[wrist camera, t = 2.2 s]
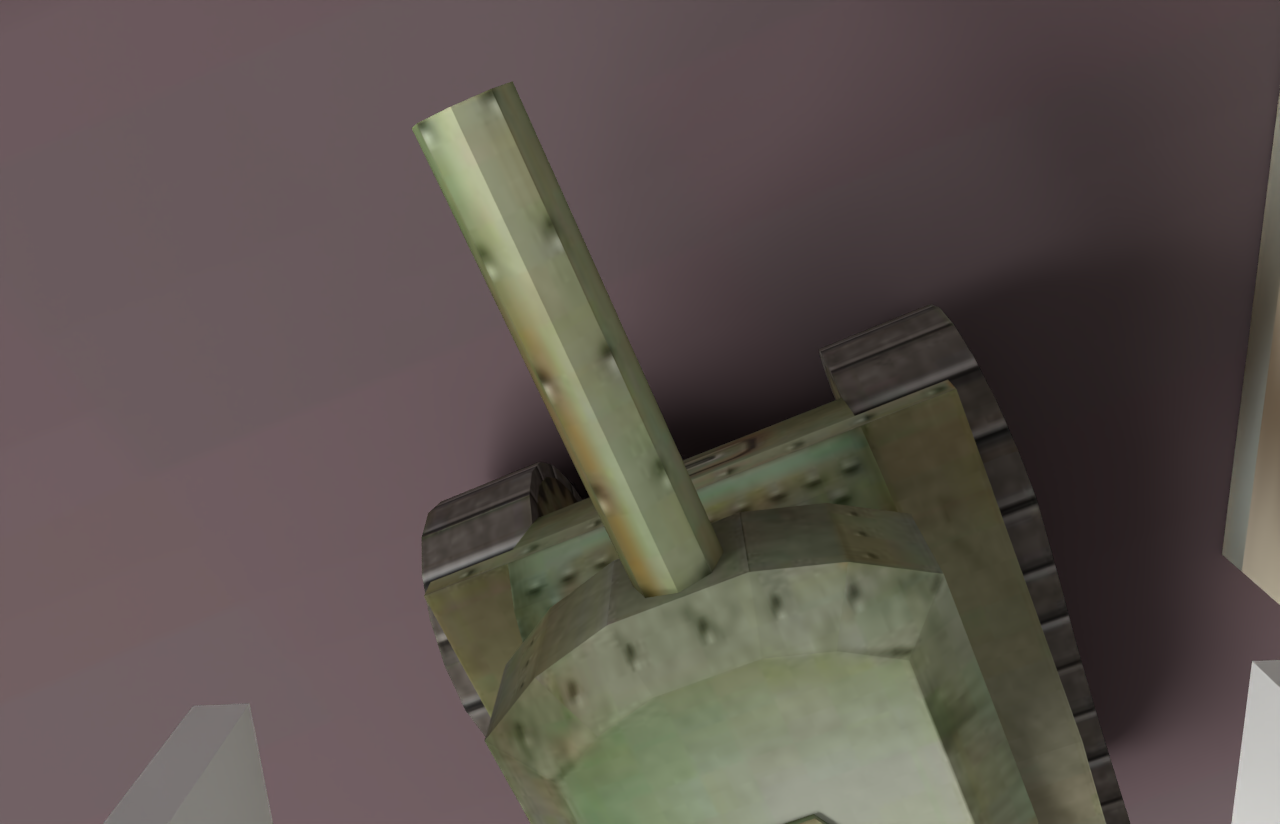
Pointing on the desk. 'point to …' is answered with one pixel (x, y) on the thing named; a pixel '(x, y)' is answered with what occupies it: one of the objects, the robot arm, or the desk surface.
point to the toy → (748, 570)
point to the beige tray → (1260, 415)
